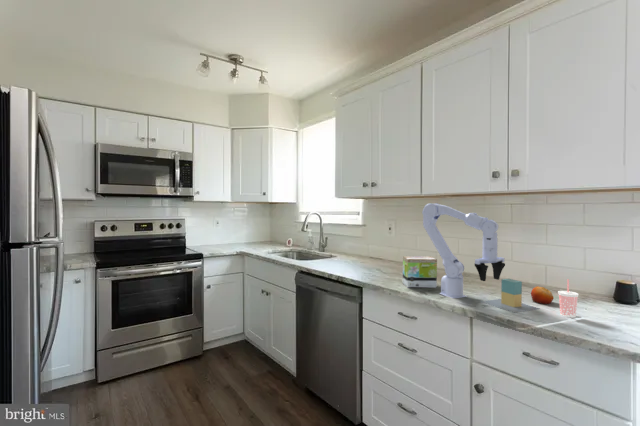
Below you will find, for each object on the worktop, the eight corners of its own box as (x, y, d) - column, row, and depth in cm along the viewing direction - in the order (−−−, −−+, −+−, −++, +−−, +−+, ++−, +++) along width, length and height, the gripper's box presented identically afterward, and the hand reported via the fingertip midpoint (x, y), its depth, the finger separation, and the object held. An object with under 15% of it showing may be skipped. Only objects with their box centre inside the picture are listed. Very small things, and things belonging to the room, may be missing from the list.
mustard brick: (501, 303, 138) (501, 291, 138) (508, 302, 140) (508, 290, 139) (514, 307, 133) (514, 294, 132) (521, 306, 134) (521, 293, 134)
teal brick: (501, 291, 138) (501, 279, 138) (508, 290, 139) (508, 278, 139) (514, 294, 132) (514, 282, 132) (521, 293, 134) (521, 281, 134)
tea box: (407, 288, 167) (407, 258, 167) (402, 283, 177) (402, 255, 177) (437, 287, 167) (437, 258, 167) (430, 283, 177) (430, 255, 177)
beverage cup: (569, 313, 126) (569, 277, 126) (582, 319, 120) (583, 280, 120) (553, 314, 126) (554, 277, 125) (566, 319, 120) (566, 281, 119)
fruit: (527, 295, 146) (538, 281, 143) (545, 308, 142) (557, 293, 139) (524, 299, 140) (535, 285, 137) (543, 312, 136) (555, 297, 133)
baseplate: (480, 302, 141) (480, 301, 141) (505, 299, 146) (505, 298, 146) (514, 314, 126) (514, 312, 126) (540, 310, 131) (540, 308, 131)
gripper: (484, 250, 136) (484, 283, 136) (510, 248, 141) (510, 280, 141) (471, 248, 142) (471, 279, 143) (496, 246, 147) (496, 277, 148)
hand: (489, 279), depth 142 cm, fingers open, 7 cm apart
